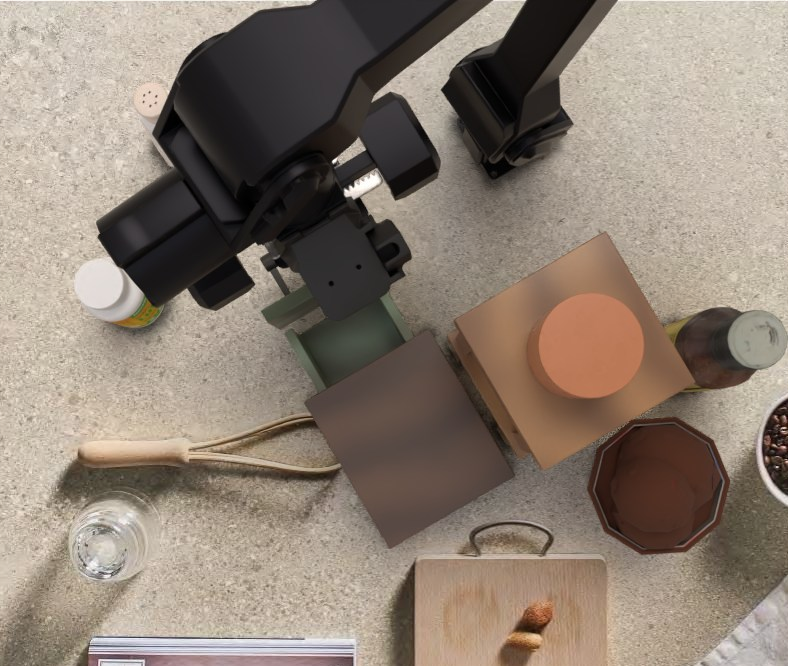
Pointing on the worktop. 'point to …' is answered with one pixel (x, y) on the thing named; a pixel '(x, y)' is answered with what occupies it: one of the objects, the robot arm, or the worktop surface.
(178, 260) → the robot arm
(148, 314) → the supplement bottle
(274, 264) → the drawer
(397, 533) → the cabinet
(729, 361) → the sauce bottle
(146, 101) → the salt shaker
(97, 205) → the worktop surface
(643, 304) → the square box with cylinder
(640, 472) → the brown polygonal jar
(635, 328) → the tin
